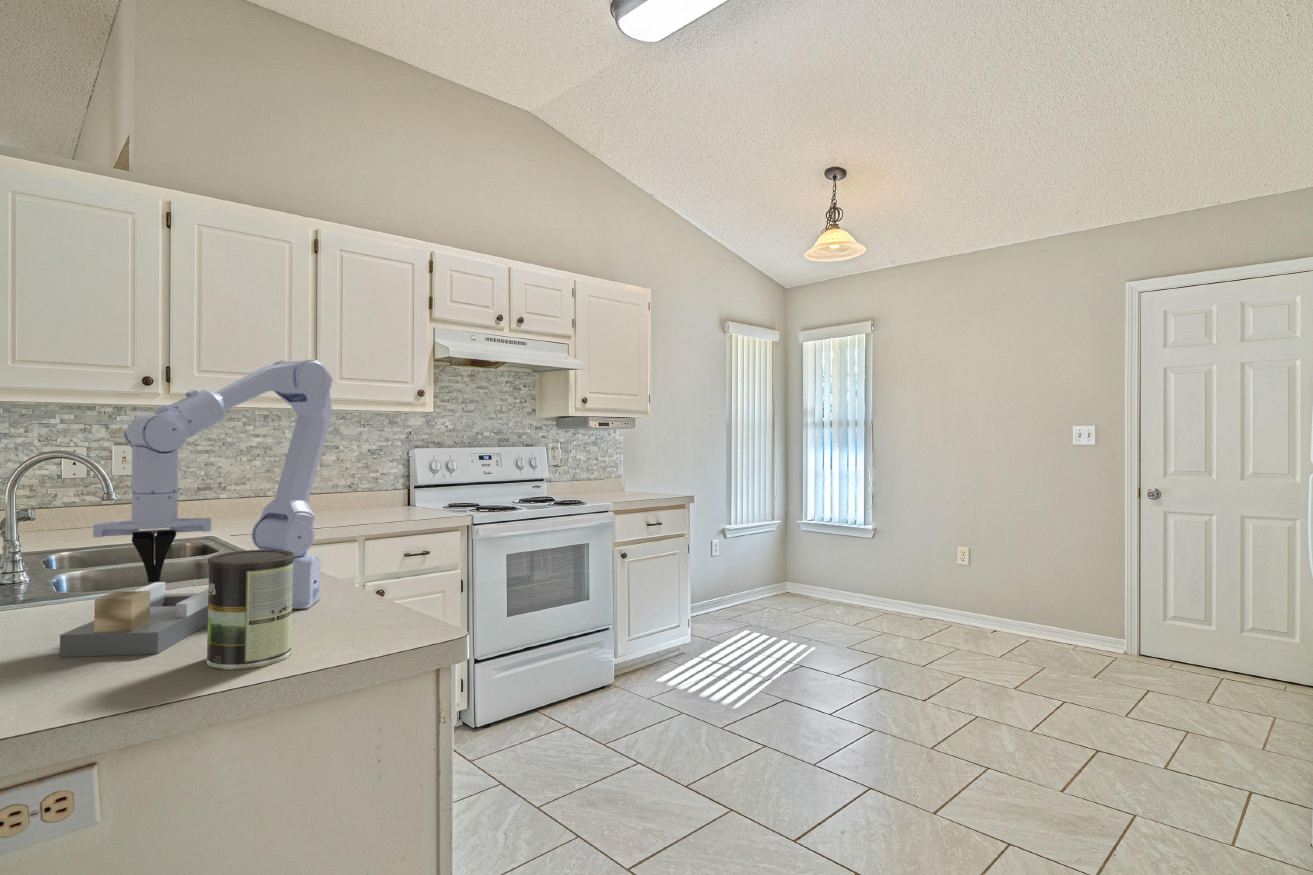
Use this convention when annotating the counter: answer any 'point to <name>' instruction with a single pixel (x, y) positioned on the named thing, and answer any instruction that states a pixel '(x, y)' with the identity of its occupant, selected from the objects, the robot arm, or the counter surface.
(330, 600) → the counter surface
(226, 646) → the coffee can
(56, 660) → the counter surface
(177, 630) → the grey railed base
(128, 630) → the block
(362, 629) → the counter surface
